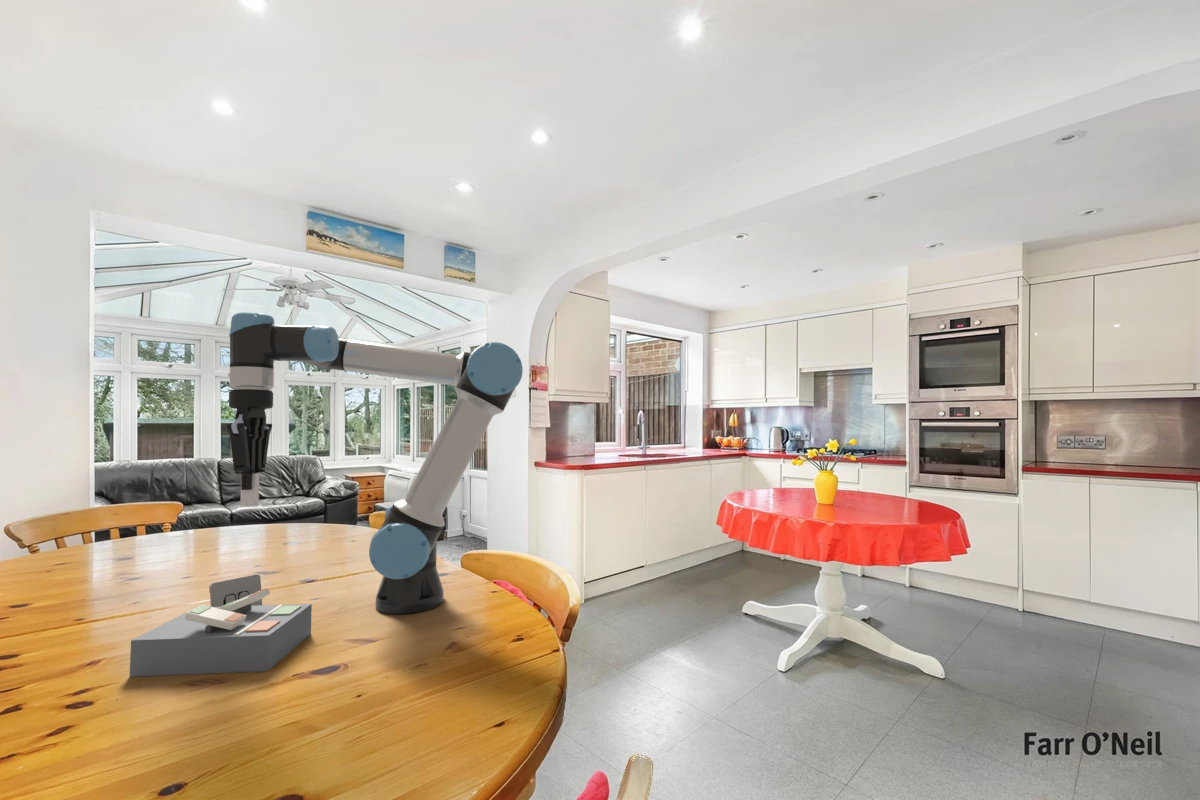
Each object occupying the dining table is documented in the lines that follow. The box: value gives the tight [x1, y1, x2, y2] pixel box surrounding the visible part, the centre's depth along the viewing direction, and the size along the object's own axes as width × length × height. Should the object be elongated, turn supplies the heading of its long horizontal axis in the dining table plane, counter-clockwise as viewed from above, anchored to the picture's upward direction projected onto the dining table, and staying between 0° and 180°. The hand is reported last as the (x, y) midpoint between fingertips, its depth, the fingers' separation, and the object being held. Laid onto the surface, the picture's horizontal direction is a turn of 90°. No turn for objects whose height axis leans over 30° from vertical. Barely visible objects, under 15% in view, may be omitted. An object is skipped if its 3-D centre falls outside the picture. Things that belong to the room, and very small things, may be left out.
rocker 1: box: [185, 604, 247, 630], centre depth 93 cm, size 8×4×1 cm, turn 94°
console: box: [129, 603, 313, 678], centre depth 96 cm, size 22×16×7 cm
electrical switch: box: [208, 573, 263, 607], centre depth 113 cm, size 9×5×9 cm, turn 141°
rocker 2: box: [218, 587, 271, 611], centre depth 101 cm, size 8×4×1 cm, turn 96°
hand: (249, 505), depth 105 cm, fingers closed
